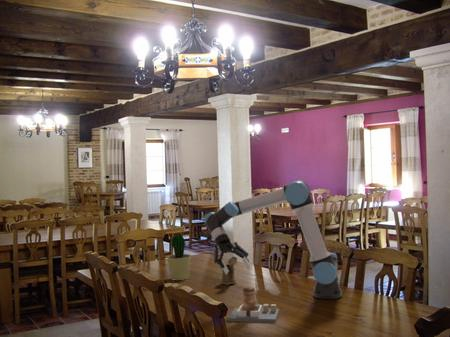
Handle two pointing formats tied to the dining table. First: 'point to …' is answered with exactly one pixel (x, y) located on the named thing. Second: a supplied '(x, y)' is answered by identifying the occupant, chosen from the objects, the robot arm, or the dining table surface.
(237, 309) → the board
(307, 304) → the dining table surface
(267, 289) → the dining table surface
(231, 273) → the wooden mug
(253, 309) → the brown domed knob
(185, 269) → the potted cactus
